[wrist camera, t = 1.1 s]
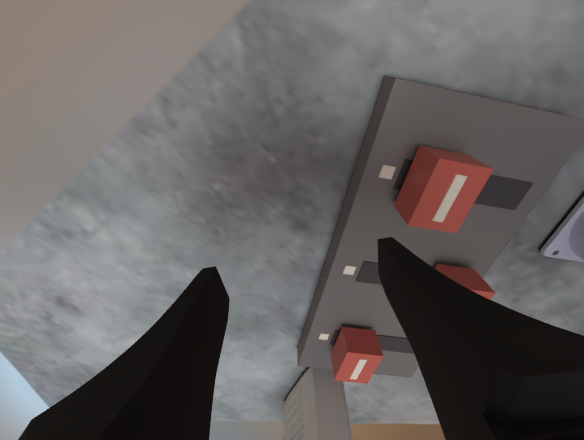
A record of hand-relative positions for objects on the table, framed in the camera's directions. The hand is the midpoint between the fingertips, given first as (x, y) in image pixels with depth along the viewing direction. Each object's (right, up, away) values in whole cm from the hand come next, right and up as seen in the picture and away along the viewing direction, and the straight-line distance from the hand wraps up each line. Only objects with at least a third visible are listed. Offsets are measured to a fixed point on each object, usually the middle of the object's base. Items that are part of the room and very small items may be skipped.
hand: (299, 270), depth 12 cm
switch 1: (+5, -9, +13) cm, 16 cm away
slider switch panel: (+9, -1, +11) cm, 14 cm away
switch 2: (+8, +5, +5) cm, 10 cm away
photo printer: (+2, -18, +21) cm, 27 cm away
